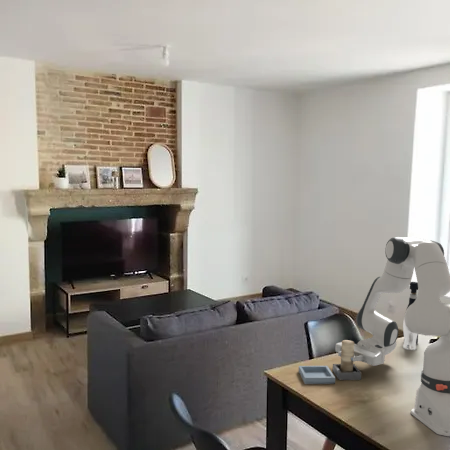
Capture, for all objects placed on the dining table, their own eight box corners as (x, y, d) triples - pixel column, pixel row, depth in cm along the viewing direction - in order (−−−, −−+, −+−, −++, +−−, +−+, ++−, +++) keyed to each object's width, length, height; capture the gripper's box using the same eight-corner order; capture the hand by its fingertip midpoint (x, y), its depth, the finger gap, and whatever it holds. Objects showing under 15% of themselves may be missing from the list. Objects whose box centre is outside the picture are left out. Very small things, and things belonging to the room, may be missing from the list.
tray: (335, 383, 196) (335, 377, 195) (304, 383, 195) (305, 377, 195) (327, 371, 208) (327, 365, 207) (298, 371, 207) (298, 365, 207)
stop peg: (354, 377, 202) (355, 344, 200) (342, 377, 201) (343, 344, 200) (350, 372, 207) (352, 340, 205) (338, 372, 206) (340, 340, 205)
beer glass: (415, 346, 240) (417, 315, 239) (419, 351, 233) (421, 320, 232) (400, 345, 241) (402, 315, 239) (404, 350, 234) (405, 319, 232)
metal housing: (360, 379, 200) (361, 372, 200) (338, 379, 199) (339, 372, 199) (353, 370, 209) (354, 363, 209) (332, 371, 208) (332, 364, 208)
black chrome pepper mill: (401, 340, 247) (404, 281, 244) (411, 339, 249) (415, 280, 246) (409, 345, 241) (413, 284, 238) (420, 344, 243) (424, 283, 240)
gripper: (347, 336, 219) (326, 342, 211) (388, 349, 203) (366, 356, 194) (347, 350, 220) (326, 356, 211) (387, 364, 203) (366, 372, 195)
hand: (345, 356), depth 203 cm, fingers closed on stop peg, 5 cm apart
